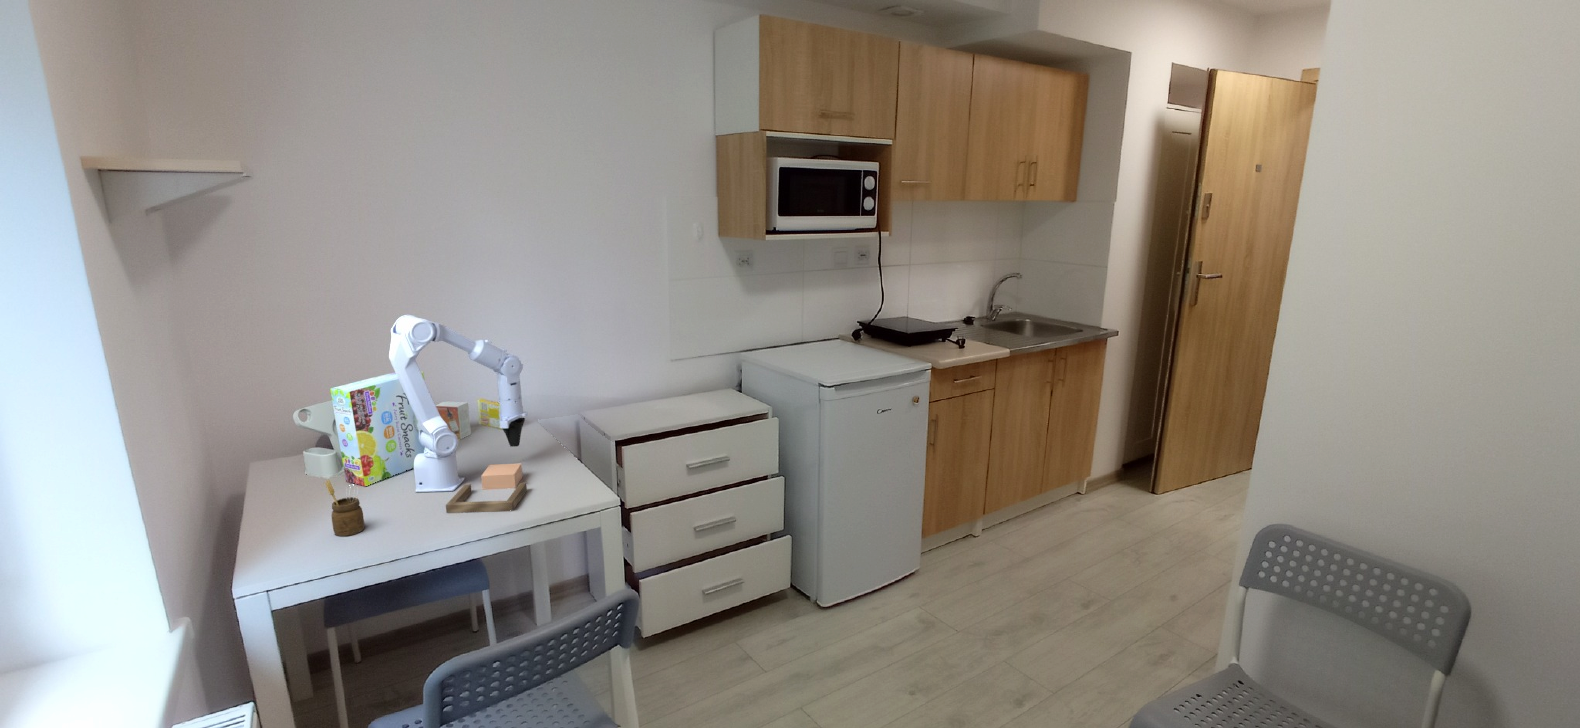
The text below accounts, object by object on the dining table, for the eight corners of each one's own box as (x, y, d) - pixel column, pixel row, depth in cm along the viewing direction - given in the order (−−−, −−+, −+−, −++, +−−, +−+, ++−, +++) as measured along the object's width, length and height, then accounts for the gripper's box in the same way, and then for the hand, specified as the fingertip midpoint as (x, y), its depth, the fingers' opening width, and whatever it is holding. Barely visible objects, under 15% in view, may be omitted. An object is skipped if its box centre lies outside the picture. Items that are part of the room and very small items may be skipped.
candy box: (516, 430, 233) (513, 405, 231) (510, 432, 231) (508, 406, 229) (484, 422, 241) (481, 397, 239) (478, 423, 239) (475, 399, 238)
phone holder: (327, 479, 192) (317, 413, 188) (300, 474, 196) (290, 409, 192) (384, 458, 208) (376, 396, 204) (358, 453, 212) (350, 393, 208)
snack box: (415, 456, 209) (405, 368, 204) (437, 460, 206) (427, 371, 200) (342, 482, 190) (328, 386, 184) (364, 488, 187) (351, 390, 181)
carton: (482, 491, 185) (481, 476, 184) (491, 479, 193) (489, 464, 192) (515, 489, 186) (514, 474, 185) (522, 477, 194) (521, 463, 193)
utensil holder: (357, 536, 160) (349, 484, 157) (327, 537, 159) (319, 485, 157) (370, 524, 166) (363, 474, 163) (341, 525, 165) (333, 475, 162)
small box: (437, 438, 224) (433, 405, 222) (448, 433, 230) (444, 400, 228) (460, 440, 223) (457, 406, 221) (471, 434, 229) (468, 401, 226)
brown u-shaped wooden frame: (446, 513, 172) (445, 505, 171) (465, 492, 184) (464, 484, 183) (512, 511, 173) (511, 503, 172) (526, 490, 185) (526, 482, 184)
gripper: (517, 404, 190) (522, 454, 193) (532, 390, 204) (536, 436, 207) (489, 405, 190) (494, 455, 193) (506, 390, 204) (511, 437, 207)
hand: (514, 445), depth 200 cm, fingers closed
